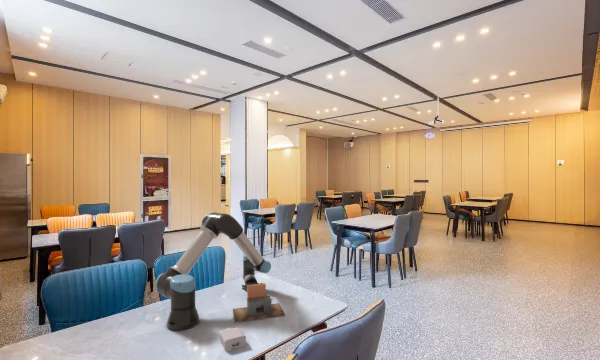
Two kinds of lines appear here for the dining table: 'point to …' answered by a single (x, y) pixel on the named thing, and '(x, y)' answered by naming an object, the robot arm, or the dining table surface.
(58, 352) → the dining table surface
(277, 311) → the base board
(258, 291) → the orange block
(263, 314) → the socket
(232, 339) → the charger
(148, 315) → the dining table surface
